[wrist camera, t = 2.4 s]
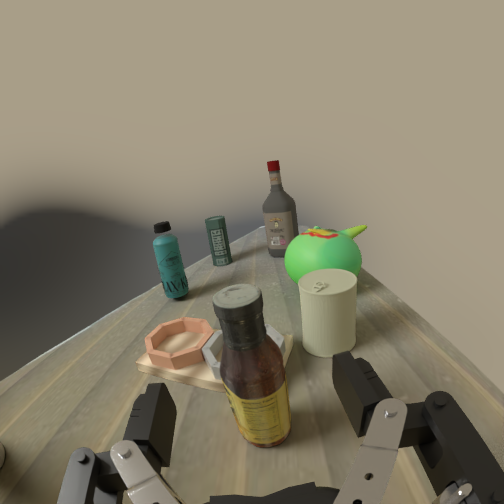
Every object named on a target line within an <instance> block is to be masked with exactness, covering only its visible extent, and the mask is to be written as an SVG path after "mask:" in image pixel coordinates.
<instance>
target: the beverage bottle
mask: <svg viewBox="0 0 504 504" xmlns="http://www.w3.org/2000/svg"><path fill="white" fill-rule="evenodd" d="M169 230H171V227H170V224H169V222H168V221H166V222H161V223H157V224H155V225H154V232H155V233H163V232H166V231H169ZM153 246H154V250H155V254H156V259H157V263H158V268H159V272H160V277H161V279H162V283H163V287H164V288H163V289H164V290H165V295H166V296H167V297H168V298H177V297H181V296H183V295H185V294H187V292H188V289H189V288H188V287H189V286H188V282H187V279H186V275H185V274H186V273H185V272H184V267H183V263H182V259H181V255H180V250H179V246H178V241H177V237H176V236H174V235H172V234H166V235H162V236H159V237H157V238H156V239H155V240H154V242H153Z"/></svg>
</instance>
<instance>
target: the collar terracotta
mask: <svg viewBox="0 0 504 504" xmlns="http://www.w3.org/2000/svg"><path fill="white" fill-rule="evenodd" d="M185 331H188V332H195V333H203V334H204V336H203V338H202V339H201V340H200V341H199V342H198V344H197V345H196V346H194V347H191V348H188V349H185V350H182V351H179V352H175V353H167V352H162V351H158V350H155V349H156V348H157V347H158V346H159V345H160V344H161V343H162V342H163V341H164V340H165V339H166V338H167V337H169V336H173V335H176V334H179V333H182V332H185ZM213 334H214V331H213V330H212V328H211V327H210V325H209V324H208V322H207V321H206V319H197V318H188V317H182V318H179V319H176V320H172V321H169V322H166V323H163V324H160V325H159V326H157V327H156V328H155V329H154V330H153V331H152V332H151V333H150V334H149V335H148V336H147V337H145V343H146V348H147V353H148V355H149V358H150V360H151V362H152V364H153V365H157V366H160V367H164V368H168V369H172V370H178V369H181V368H184V367H187V366H190V365H193V364H196V363H199V362H202V361H204V360H205V358H204V355H203V352H202V348H203V347H204V345H205V344H206V343H207V342H208V340H209V339H210V338H211V337H212V335H213Z"/></svg>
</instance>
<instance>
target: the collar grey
mask: <svg viewBox="0 0 504 504" xmlns="http://www.w3.org/2000/svg"><path fill="white" fill-rule="evenodd" d="M265 327H266V330H267V332H266V333H267V335H269V336H270V337H271V338H272V339H273V341H275V343H276V344H277V345H278V346H279V348H280V350H281V353H282V356H284V353H285V351H286V349H285V340H284V337H283V336H282V335H281V334H280V333H278V332H277V331H276V330H275V329H274V328H273V327H272V326H271V325H269V324H265ZM222 336H223V333H222V330H219V331H216V332H215V333H214V334H213V335H212V337H211V338H210V339H209V340H208V342H207V343H206V344H205V345H204V347H203V348H202V352H203V355H204V358H205V361H206V363H207V365H208V367H209V369H210V370H211V372H212V374H213V376H214V378H215V379H219V380H222V379H221V376H220V371H219V368H220V362H217V360H216V359H215V357H216V355H217V354H218V352H219V351H220V350H221V348H222V347H223V343H224V341H223V337H222Z"/></svg>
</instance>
